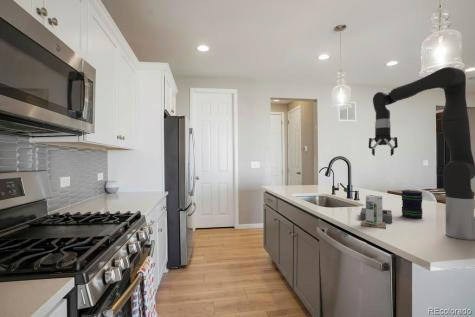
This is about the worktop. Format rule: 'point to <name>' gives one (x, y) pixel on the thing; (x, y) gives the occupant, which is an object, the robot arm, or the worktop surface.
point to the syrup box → (374, 209)
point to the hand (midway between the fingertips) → (382, 155)
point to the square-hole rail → (385, 215)
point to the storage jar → (412, 204)
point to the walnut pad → (373, 225)
